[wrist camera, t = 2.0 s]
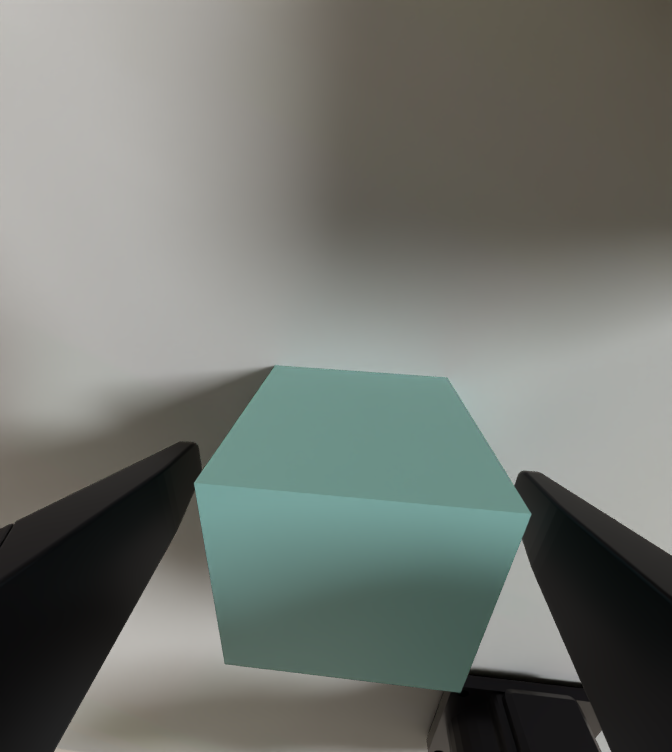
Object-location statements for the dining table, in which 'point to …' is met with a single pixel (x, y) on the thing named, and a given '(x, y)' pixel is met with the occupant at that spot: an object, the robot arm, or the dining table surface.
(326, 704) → the dining table surface
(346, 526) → the teal cube
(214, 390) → the dining table surface
